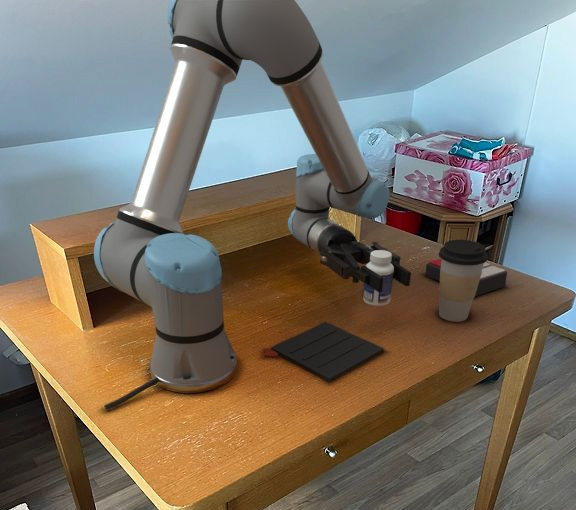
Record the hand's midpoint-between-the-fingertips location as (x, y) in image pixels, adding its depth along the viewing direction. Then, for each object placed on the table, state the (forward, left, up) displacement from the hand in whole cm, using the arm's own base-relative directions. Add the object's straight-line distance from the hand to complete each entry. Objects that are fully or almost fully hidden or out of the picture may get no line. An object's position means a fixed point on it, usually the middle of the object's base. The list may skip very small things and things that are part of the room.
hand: (394, 282), depth 110 cm
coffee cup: (+18, -3, -12) cm, 22 cm away
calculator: (+35, +5, -12) cm, 37 cm away
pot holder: (-13, +5, -12) cm, 19 cm away
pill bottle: (+2, +5, -6) cm, 8 cm away
